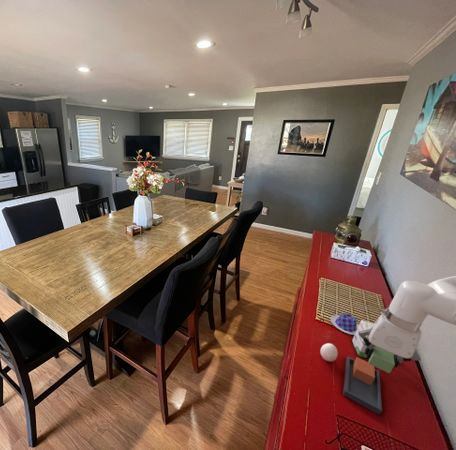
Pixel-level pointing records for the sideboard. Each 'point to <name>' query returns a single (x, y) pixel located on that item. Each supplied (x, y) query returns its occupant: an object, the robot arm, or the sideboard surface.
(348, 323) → the patterned bowl
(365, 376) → the orange block
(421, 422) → the sideboard surface
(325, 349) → the egg
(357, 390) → the holder
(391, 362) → the green block
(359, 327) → the ink box
